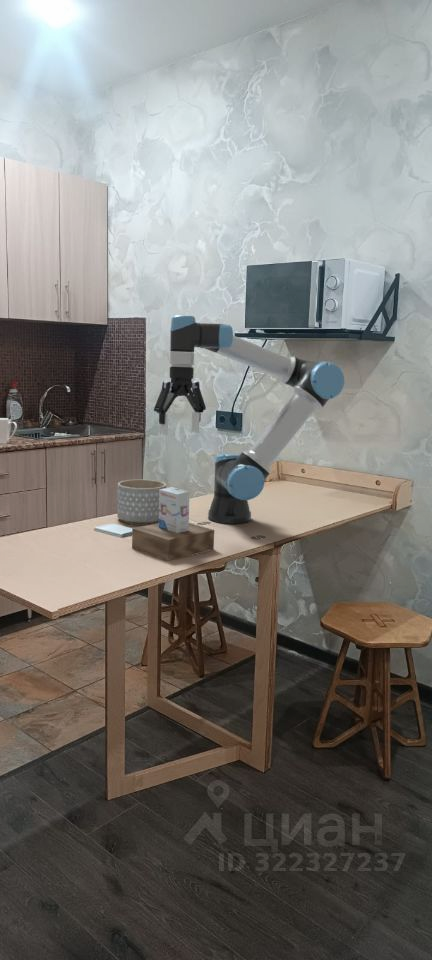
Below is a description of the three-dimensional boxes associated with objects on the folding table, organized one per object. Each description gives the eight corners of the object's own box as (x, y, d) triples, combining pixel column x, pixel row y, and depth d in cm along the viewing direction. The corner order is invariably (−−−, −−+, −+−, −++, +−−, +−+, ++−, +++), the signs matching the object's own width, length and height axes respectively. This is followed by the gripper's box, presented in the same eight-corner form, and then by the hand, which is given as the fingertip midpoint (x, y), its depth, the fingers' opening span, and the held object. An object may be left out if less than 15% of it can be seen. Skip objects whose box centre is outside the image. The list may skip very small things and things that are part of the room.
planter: (112, 515, 245) (113, 480, 243) (157, 513, 251) (158, 478, 248) (123, 527, 230) (124, 489, 228) (171, 524, 236) (172, 487, 233)
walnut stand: (177, 538, 219) (177, 519, 218) (213, 549, 208) (214, 530, 207) (132, 547, 206) (132, 528, 205) (168, 560, 195) (168, 539, 194)
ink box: (157, 527, 207) (158, 488, 205) (170, 525, 210) (171, 486, 208) (176, 533, 201) (177, 493, 199) (189, 530, 205) (190, 491, 202)
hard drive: (139, 529, 223) (112, 522, 231) (121, 534, 217) (93, 526, 224) (139, 534, 224) (112, 527, 231) (121, 539, 217) (93, 531, 225)
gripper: (201, 366, 231) (199, 430, 235) (143, 365, 213) (142, 434, 217) (218, 366, 226) (215, 432, 230) (159, 366, 208) (158, 437, 212)
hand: (179, 433), depth 223 cm, fingers open, 13 cm apart
